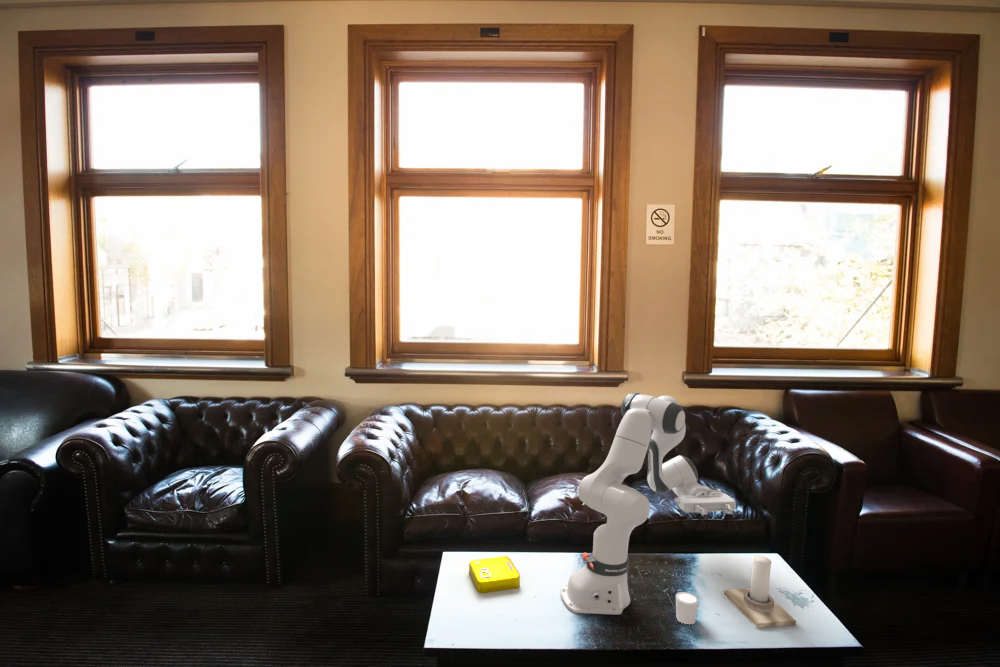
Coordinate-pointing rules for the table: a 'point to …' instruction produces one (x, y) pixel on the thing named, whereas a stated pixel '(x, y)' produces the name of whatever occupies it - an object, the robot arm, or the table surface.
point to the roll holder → (759, 609)
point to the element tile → (494, 574)
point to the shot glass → (686, 607)
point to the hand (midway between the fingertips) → (718, 512)
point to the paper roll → (760, 579)
